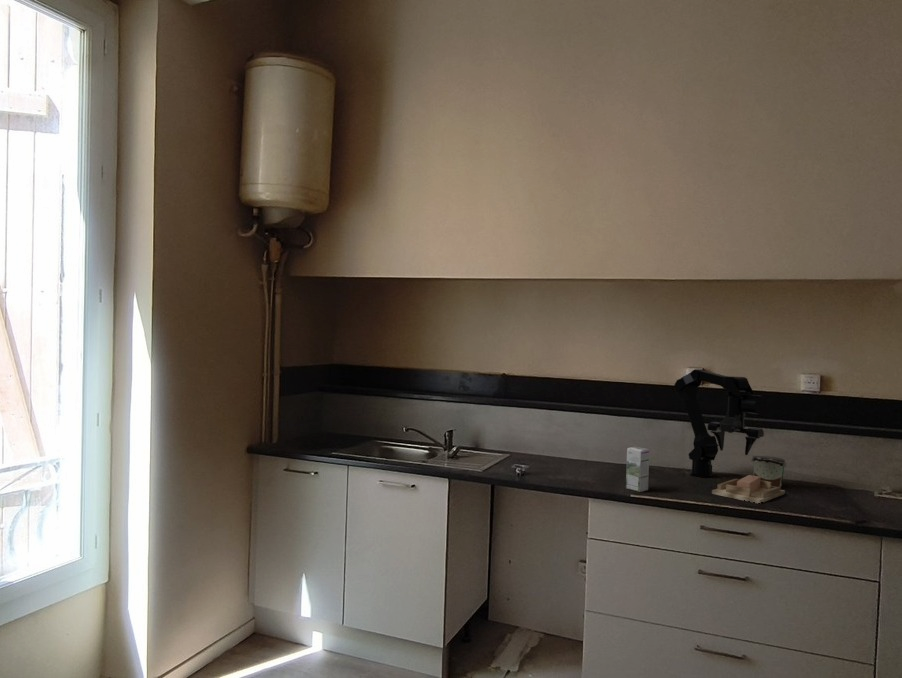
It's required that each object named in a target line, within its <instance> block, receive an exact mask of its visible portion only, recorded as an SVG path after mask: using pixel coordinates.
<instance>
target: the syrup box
mask: <svg viewBox="0 0 902 678" xmlns="http://www.w3.org/2000/svg"><path fill="white" fill-rule="evenodd" d="M626 449H627V450H626V469H625V470H626V476H625V489H626V490H630V491H633V492H638V493H640V492H645V491H649V472H650V471H649V470H650V469H649V468H650V467H649V466H650V449H649V448H644V447H639V446H631V447H628V448H626Z"/></svg>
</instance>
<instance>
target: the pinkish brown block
mask: <svg viewBox="0 0 902 678" xmlns="http://www.w3.org/2000/svg"><path fill="white" fill-rule="evenodd" d="M760 481H761V477H758V476H754V475H751V474H748V475H746V476H744V477H742V478H740V479H739V480H738V481H737V486H738V487H743V488H748V489H751V493H753V492H755V491H756V490H758V489H759V488H760Z"/></svg>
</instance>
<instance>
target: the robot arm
mask: <svg viewBox="0 0 902 678" xmlns="http://www.w3.org/2000/svg"><path fill="white" fill-rule="evenodd" d="M703 382H706V383H710V384H712V385H716V386H719V387H721V388H723V389H724V390H725V391H727V392H726V393H725V394H723V398H727V400H728V401H727V412H726V413H725V417H724V418H723V419H722V420H720V422H719V421H711V422H709V423H708V424H707V427H706V423H705V420H704V417H703V413H702V411H701V408H700V405H699V402H698V400H697V399H698V395H699V394H698V393H699V390H698V388H699V387H700V386H701V385H702V383H703ZM673 387H674V390H675V393H676V395H677V396H678V398H679V399H681V400H682V401H683V403H684V406H685V410H686V413H687V415H688V419H689V422H690V424H691V428H692V430H693V431H692V432H693V434H694V439H693V449H692V450H691V451H689V453H688V458H689V460H691V461H692V462H691V472H690V473H689V475H690V476H695V477H699V478H705V479H706V478H709V477H713V465H712V461H715V459H716V456H717V454H718V452H719V450H720V451H721V452H722V451H724V446H725V445H724V444H725V443H724V442H725V435H726V434H725V433H729V434H732V433H739V434H745V435H747V436H745V449H744V451H745V452H744V455H745V456H748V455H749V453H750V451H751V449H752V446H753V445H754V444H755V442H756V441H757V439H758V440H759V439H760V438H763V437H765V436H764V435H765V432H764V429H763V428H759V427H748V428H746V424H745V417H747V416H746V415H747V414H746V413H748V414H752V415H758V416H760V415H763V414H764V413H765V411H766V408H767V405H766V402H765V400H764V399H763V396H762V395H761V394H760V395H759V394H758V395H756V394H755V392H754V390H753V388H752V387H751V385H750V382H749V380H748V378H747V377H746V376H732V375H731V376H728V375H724V374H723V375H722V374H721V373H716V372H711V371H708V370H705V369H697V368H695V369H693V370H692V371H690V373H687V374H686V375H683V376H682V377H680V378H679V379H676V381H675V382H674V386H673ZM708 431H710V433H711V434H713V435H710V434H709V432H708Z"/></svg>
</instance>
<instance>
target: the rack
mask: <svg viewBox="0 0 902 678" xmlns="http://www.w3.org/2000/svg"><path fill="white" fill-rule="evenodd" d="M738 480H740V479H739V478H734V479H730V480H727V481H724V482H720V483H718V484H717V486H716V487H717V488H715V489H712V490H711V494H712V495H716V496H722V497H726V498H731V499H735V500H740V501H744V500H745V502H748V501H750V502H749V503H753V502H755V503H754V504H758V503H760V504H762V503H761V502H763V503H765V502H767V501H770V500H772V499H776V498H779V497H781V496H783V495H785V494H786V491H785V489H781V488H782V486H781V487H771V482H768V481H762V480H761V481H760V488H759V489H758V490H756V491H755V492H753V493H751V489H748V488H743V487H738V486H737V481H738Z"/></svg>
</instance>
